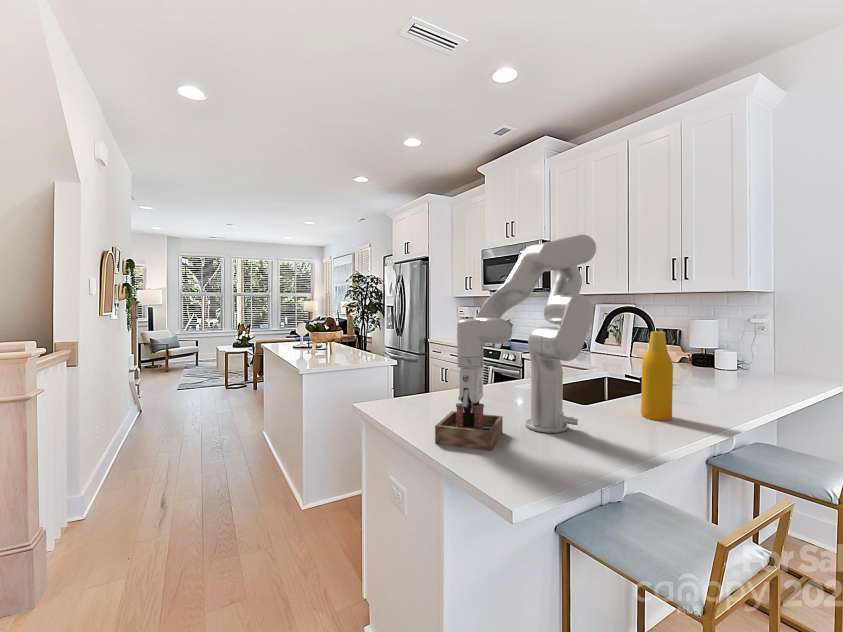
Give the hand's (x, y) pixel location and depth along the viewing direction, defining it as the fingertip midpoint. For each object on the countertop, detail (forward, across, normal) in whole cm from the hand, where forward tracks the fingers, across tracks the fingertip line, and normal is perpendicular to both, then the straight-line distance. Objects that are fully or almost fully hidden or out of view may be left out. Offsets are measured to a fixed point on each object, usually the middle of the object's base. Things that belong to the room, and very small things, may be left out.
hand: (470, 423), depth 121 cm
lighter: (+2, 0, 0) cm, 2 cm away
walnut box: (+4, 0, 0) cm, 4 cm away
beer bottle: (+5, +42, -54) cm, 68 cm away
